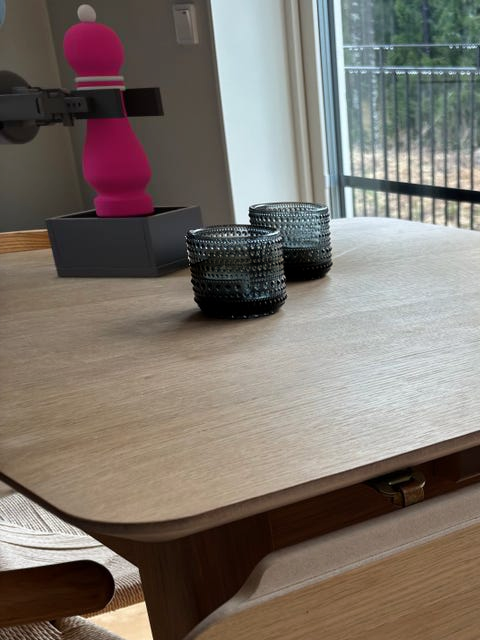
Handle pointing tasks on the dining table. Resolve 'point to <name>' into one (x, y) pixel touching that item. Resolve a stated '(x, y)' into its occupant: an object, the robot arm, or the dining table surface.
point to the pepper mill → (107, 123)
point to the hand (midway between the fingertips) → (139, 102)
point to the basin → (122, 242)
